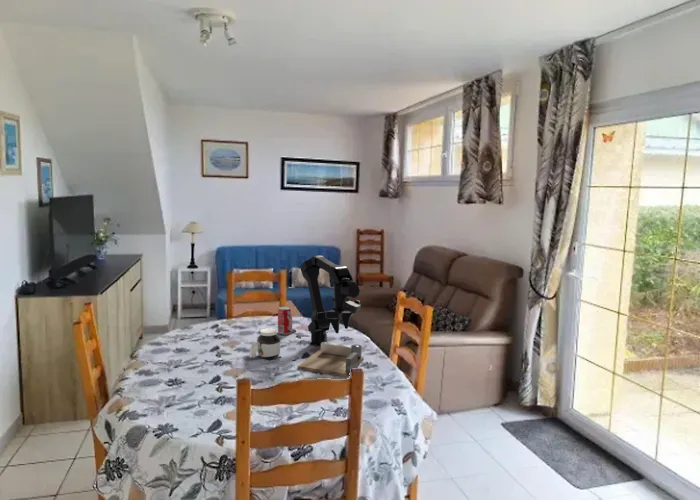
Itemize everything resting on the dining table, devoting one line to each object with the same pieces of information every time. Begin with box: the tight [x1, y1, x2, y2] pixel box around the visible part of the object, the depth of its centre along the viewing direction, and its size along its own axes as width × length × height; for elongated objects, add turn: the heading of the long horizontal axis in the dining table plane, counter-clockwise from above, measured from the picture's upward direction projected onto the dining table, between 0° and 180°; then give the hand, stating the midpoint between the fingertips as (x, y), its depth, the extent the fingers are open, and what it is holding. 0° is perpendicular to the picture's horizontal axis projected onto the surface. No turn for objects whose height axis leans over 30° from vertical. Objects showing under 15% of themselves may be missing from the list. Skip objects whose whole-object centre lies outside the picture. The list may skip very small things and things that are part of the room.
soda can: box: [277, 305, 293, 336], centre depth 247 cm, size 7×7×13 cm
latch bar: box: [320, 341, 362, 359], centre depth 214 cm, size 18×4×5 cm, turn 69°
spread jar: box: [249, 327, 281, 360], centre depth 213 cm, size 12×11×12 cm
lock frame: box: [297, 349, 364, 378], centre depth 206 cm, size 22×21×7 cm
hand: (341, 330), depth 216 cm, fingers open, 9 cm apart
